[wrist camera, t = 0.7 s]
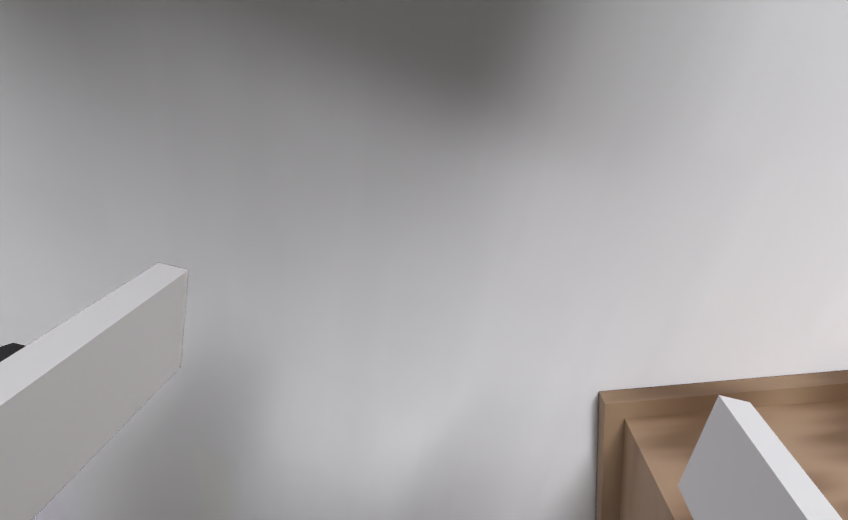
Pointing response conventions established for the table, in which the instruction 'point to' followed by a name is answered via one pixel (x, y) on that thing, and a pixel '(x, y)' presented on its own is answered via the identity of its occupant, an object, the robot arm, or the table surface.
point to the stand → (683, 424)
